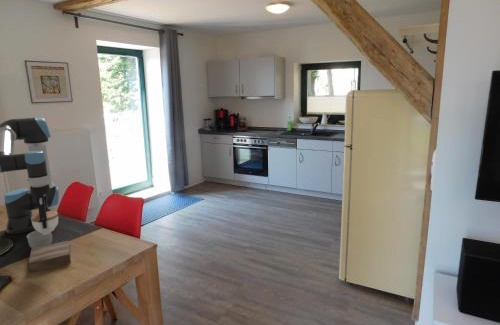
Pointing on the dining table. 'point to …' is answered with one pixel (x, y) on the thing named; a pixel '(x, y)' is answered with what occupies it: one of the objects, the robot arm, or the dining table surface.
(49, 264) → the walnut block
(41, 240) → the teacup
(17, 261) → the dining table surface
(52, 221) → the lidded jar
